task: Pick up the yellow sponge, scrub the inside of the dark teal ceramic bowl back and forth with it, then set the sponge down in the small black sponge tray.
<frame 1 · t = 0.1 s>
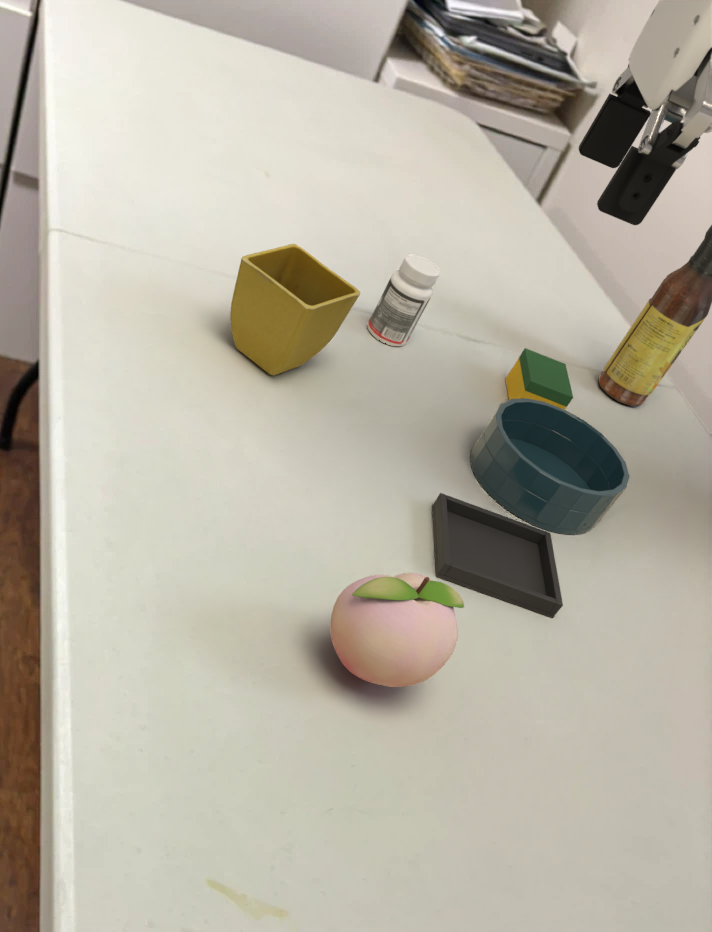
hand: (606, 187, 75), 30 cm above the table, tool pointing down, fingers open, 9 cm apart
sauce bottle: (617, 393, 129), on the table
bowl: (534, 485, 108), on the table
sponge: (528, 403, 119), on the table
pill bottle: (385, 336, 119), on the table
decorative fruit: (364, 677, 82), on the table
flower pot: (265, 359, 108), on the table
sponge tray: (490, 560, 97), on the table
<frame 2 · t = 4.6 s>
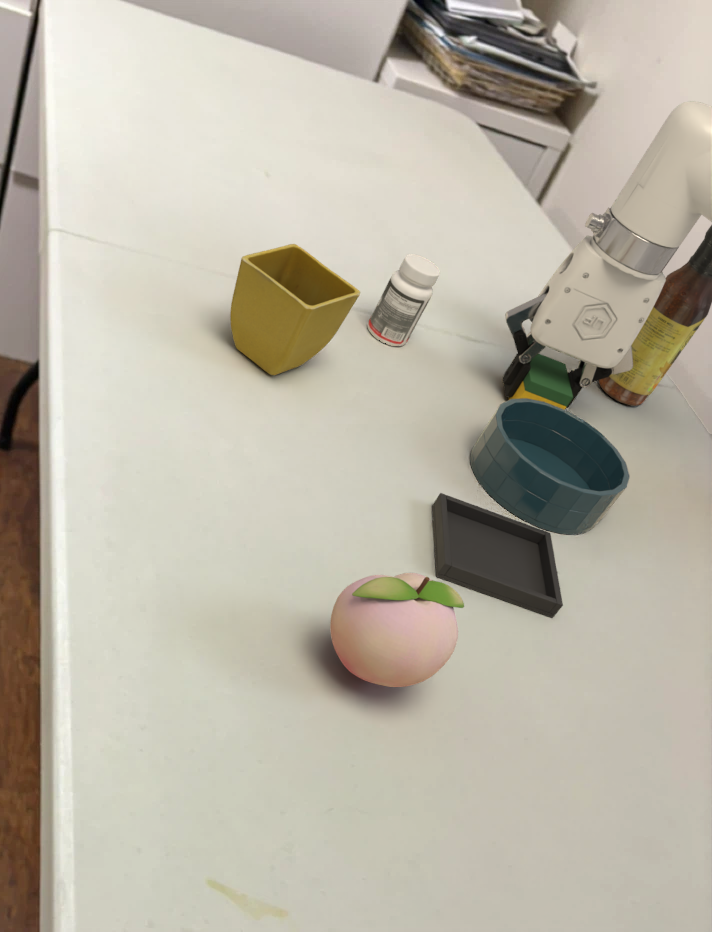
hand: (531, 398, 119), 1 cm above the table, tool pointing down, fingers closed on sponge, 5 cm apart
sponge: (528, 403, 119), on the table, touching gripper
everything else where it was.
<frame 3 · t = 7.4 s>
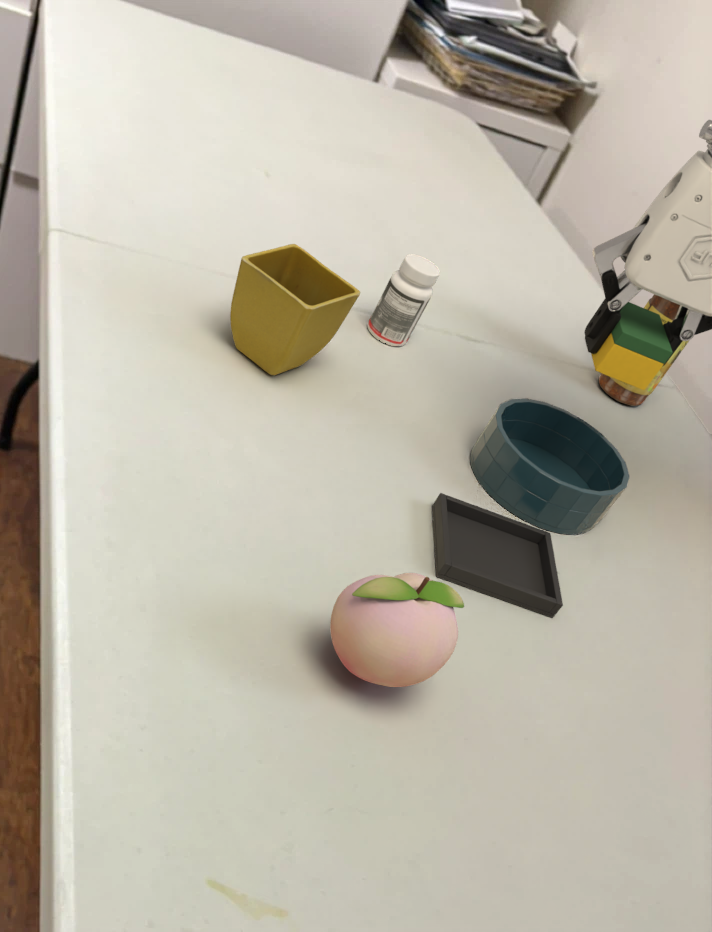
hand: (618, 355, 99), 14 cm above the table, tool pointing down, fingers closed on sponge, 5 cm apart
sponge: (614, 361, 100), point 13 cm above the table, touching gripper
everything else where it was.
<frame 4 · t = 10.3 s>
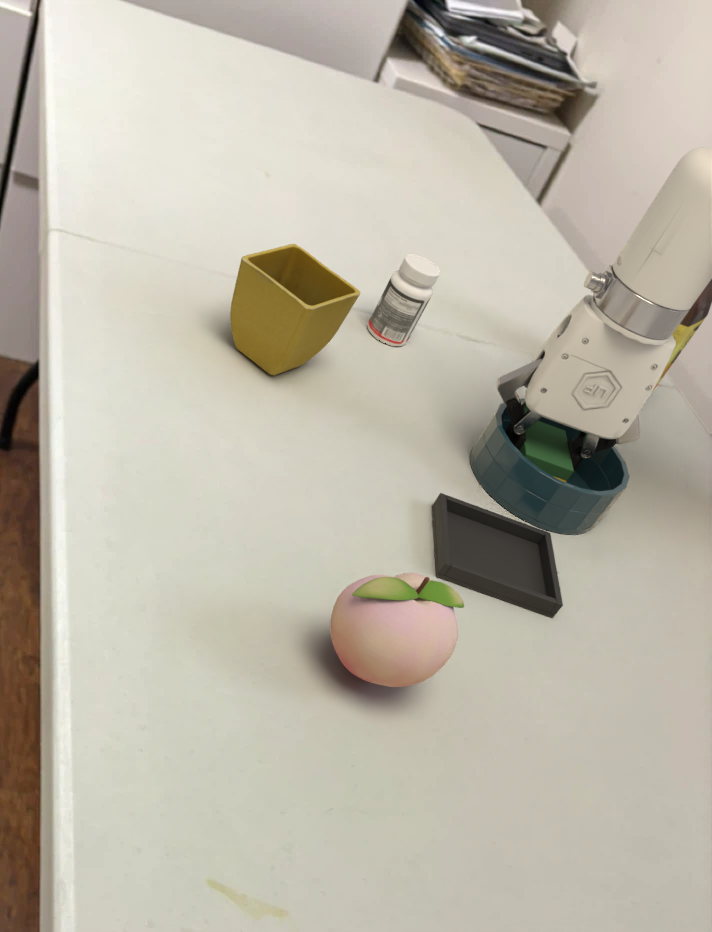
hand: (527, 469, 107), 1 cm above the table, tool pointing down, fingers closed on sponge, 4 cm apart
sponge: (524, 474, 108), point 1 cm above the table, touching gripper
everything else where it was.
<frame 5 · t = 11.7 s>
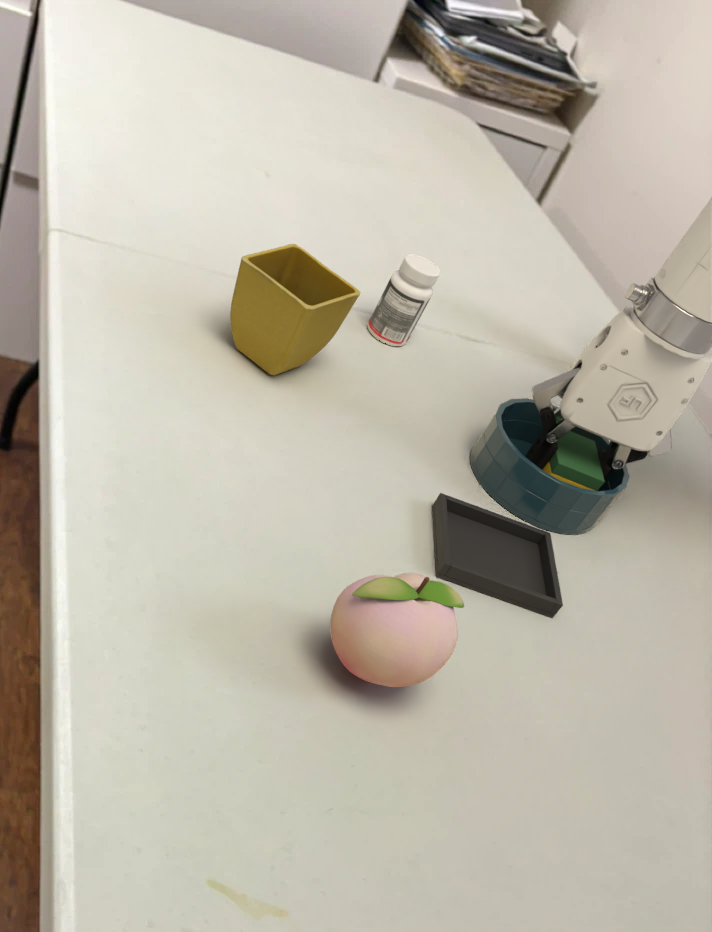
hand: (556, 478, 108), 2 cm above the table, tool pointing down, fingers closed on sponge, 5 cm apart
sponge: (553, 483, 108), point 1 cm above the table, touching gripper
everything else where it was.
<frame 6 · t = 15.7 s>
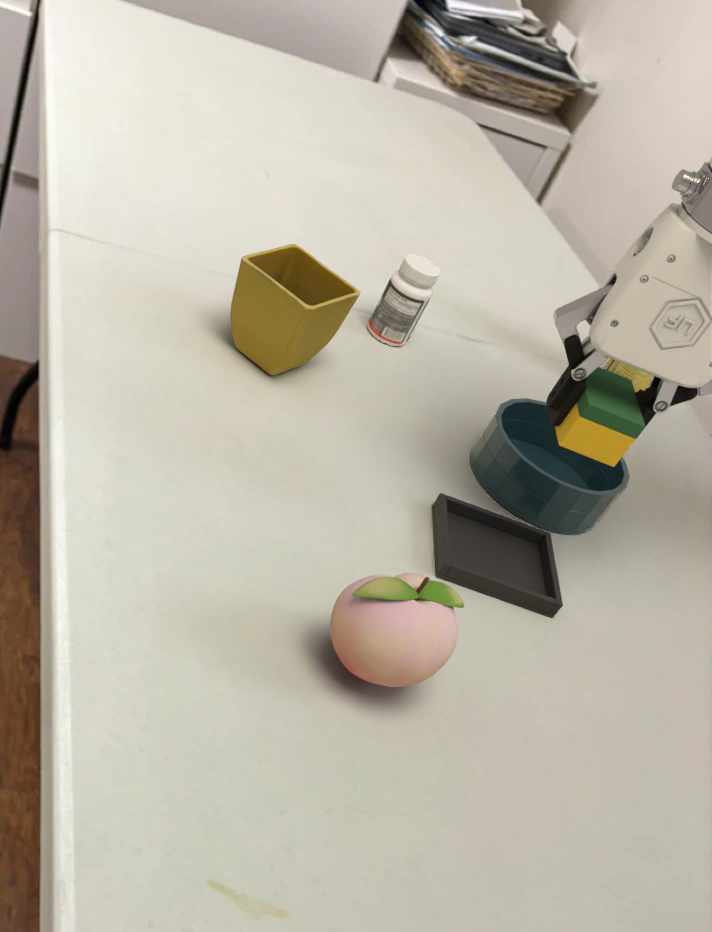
hand: (585, 427, 88), 14 cm above the table, tool pointing down, fingers closed on sponge, 5 cm apart
sponge: (580, 432, 88), point 14 cm above the table, touching gripper
everything else where it was.
when the fingers open (1 cm above the table, at t = 19.1 s): sponge stays where it is, resting on sponge tray.
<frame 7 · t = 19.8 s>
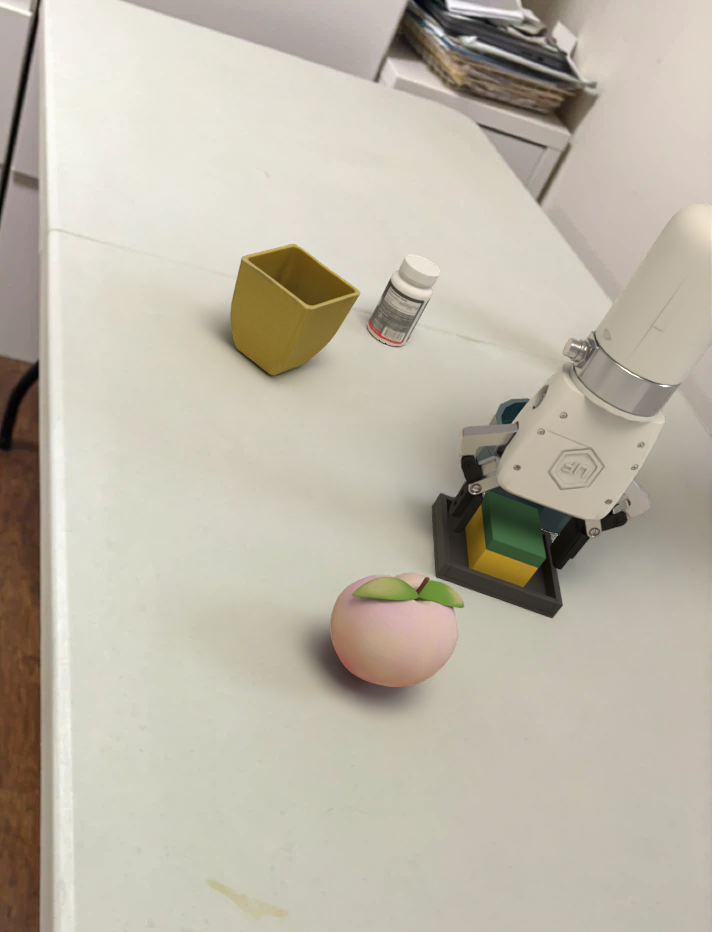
hand: (505, 541, 96), 2 cm above the table, tool pointing down, fingers open, 9 cm apart
sponge: (492, 557, 97), resting on sponge tray
everything else where it was.
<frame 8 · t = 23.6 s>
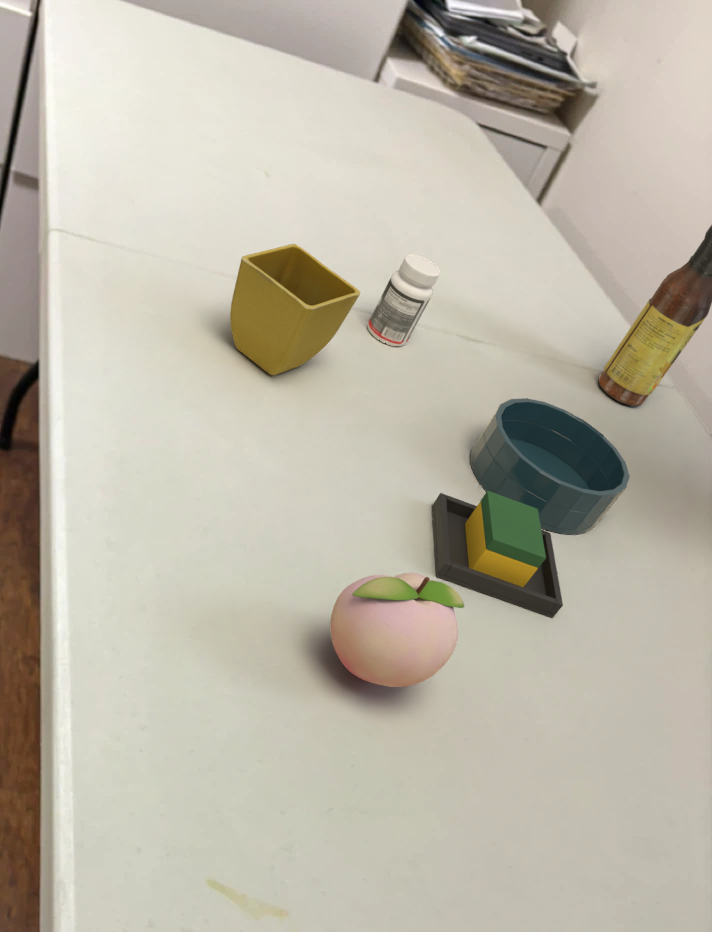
nothing on the table moved.
at the end: sponge inside the target area in the sponge tray (0.1 cm from its centre), point 0.4 cm above the sponge tray's base; the gripper is holding nothing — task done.
